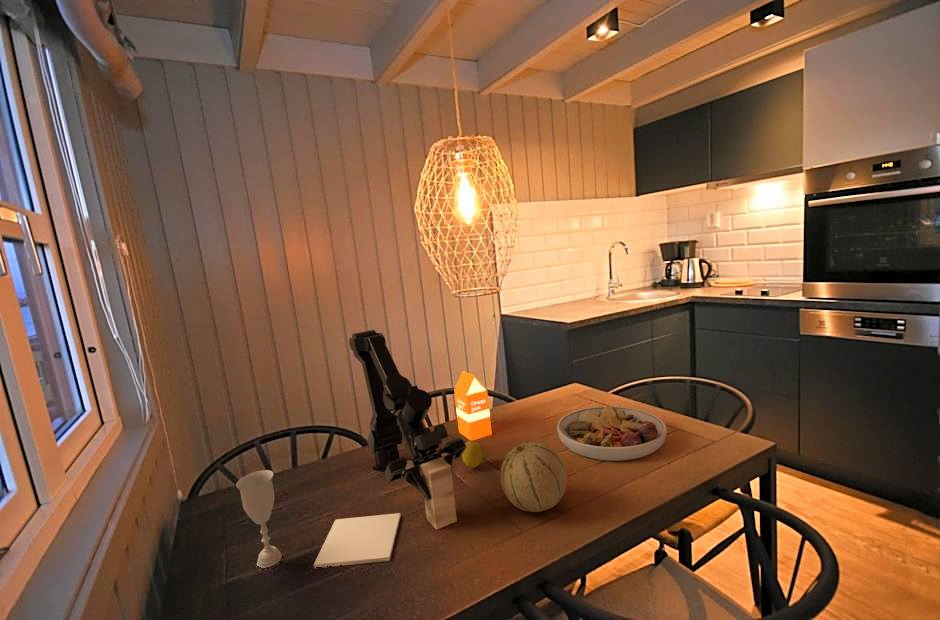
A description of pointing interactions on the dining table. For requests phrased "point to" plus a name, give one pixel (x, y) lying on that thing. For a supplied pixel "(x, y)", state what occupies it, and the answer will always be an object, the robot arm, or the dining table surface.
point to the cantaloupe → (533, 477)
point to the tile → (359, 540)
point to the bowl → (612, 433)
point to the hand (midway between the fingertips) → (441, 495)
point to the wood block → (439, 493)
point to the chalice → (260, 509)
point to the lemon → (472, 454)
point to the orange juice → (472, 407)
